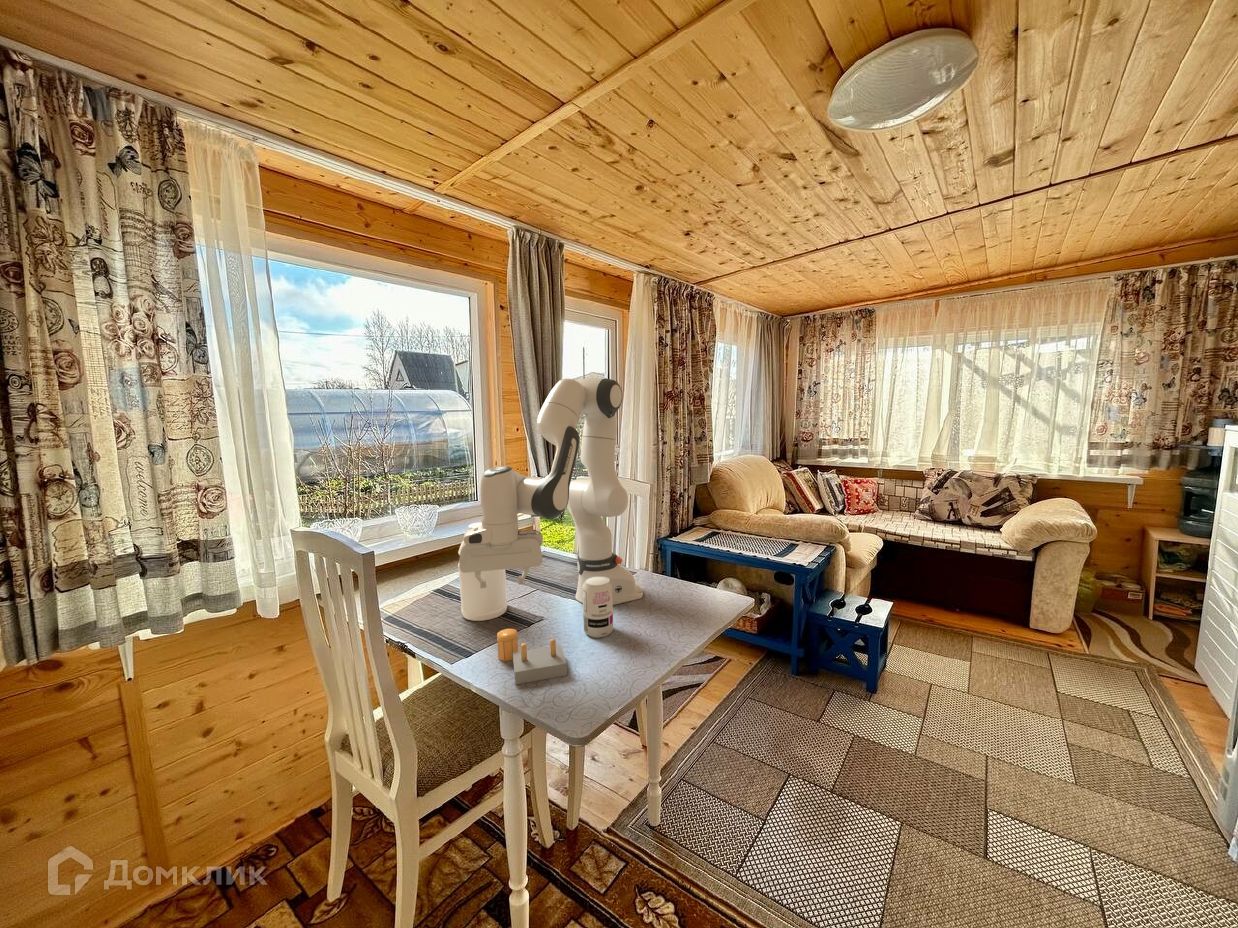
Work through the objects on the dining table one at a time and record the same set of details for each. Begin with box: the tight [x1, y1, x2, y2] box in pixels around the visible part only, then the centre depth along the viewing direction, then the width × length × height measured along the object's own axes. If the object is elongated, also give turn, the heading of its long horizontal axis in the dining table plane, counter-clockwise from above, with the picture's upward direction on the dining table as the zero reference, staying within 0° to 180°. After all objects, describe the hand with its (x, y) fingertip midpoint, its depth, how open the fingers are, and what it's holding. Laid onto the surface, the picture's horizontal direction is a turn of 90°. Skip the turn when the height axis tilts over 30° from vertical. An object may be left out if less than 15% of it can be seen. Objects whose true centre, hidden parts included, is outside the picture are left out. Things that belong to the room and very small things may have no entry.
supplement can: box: [582, 576, 614, 639], centre depth 129 cm, size 8×8×15 cm
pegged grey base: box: [512, 637, 568, 685], centre depth 112 cm, size 12×9×7 cm
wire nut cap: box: [496, 628, 519, 662], centre depth 118 cm, size 5×5×6 cm
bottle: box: [457, 521, 509, 622], centre depth 143 cm, size 14×14×28 cm
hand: (502, 585), depth 117 cm, fingers open, 8 cm apart
